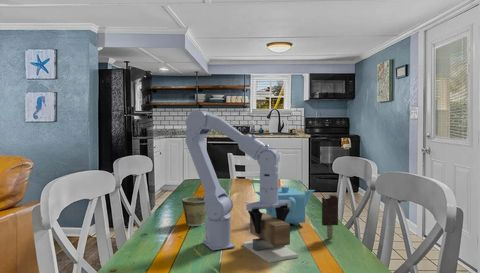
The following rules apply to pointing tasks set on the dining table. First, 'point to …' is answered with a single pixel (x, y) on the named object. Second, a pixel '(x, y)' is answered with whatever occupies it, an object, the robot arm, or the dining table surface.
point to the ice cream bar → (330, 213)
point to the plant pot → (194, 211)
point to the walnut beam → (272, 231)
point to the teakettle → (292, 204)
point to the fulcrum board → (269, 251)
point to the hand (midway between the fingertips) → (268, 231)
